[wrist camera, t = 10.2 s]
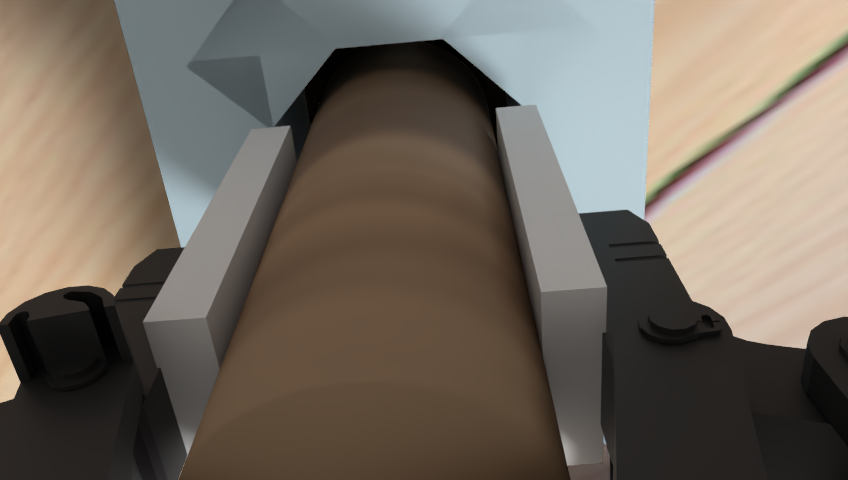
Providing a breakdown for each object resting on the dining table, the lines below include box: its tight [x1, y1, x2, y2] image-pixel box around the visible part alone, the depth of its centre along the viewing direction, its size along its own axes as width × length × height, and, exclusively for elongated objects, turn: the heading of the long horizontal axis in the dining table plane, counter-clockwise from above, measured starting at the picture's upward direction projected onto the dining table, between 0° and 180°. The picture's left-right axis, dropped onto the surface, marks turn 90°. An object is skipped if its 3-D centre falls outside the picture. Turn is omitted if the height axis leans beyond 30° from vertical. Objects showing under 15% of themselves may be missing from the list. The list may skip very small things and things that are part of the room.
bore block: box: [114, 0, 655, 444], centre depth 18 cm, size 16×10×4 cm, turn 5°
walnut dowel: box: [179, 41, 570, 480], centre depth 13 cm, size 4×4×12 cm
